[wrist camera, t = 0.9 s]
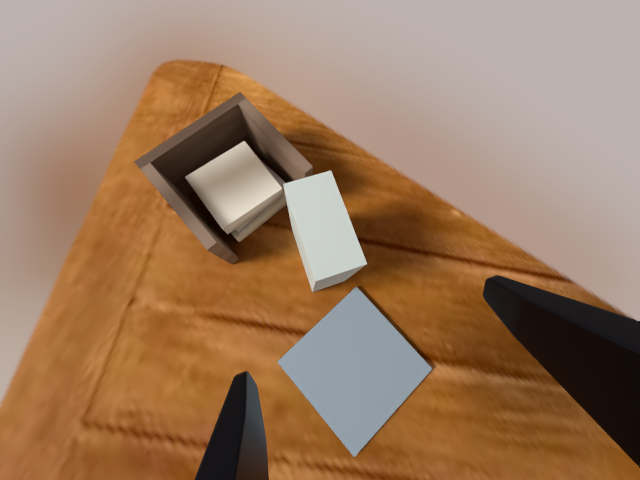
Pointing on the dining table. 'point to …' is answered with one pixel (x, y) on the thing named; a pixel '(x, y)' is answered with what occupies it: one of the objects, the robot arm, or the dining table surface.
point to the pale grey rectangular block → (323, 230)
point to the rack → (207, 144)
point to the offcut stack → (239, 190)
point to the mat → (354, 369)
